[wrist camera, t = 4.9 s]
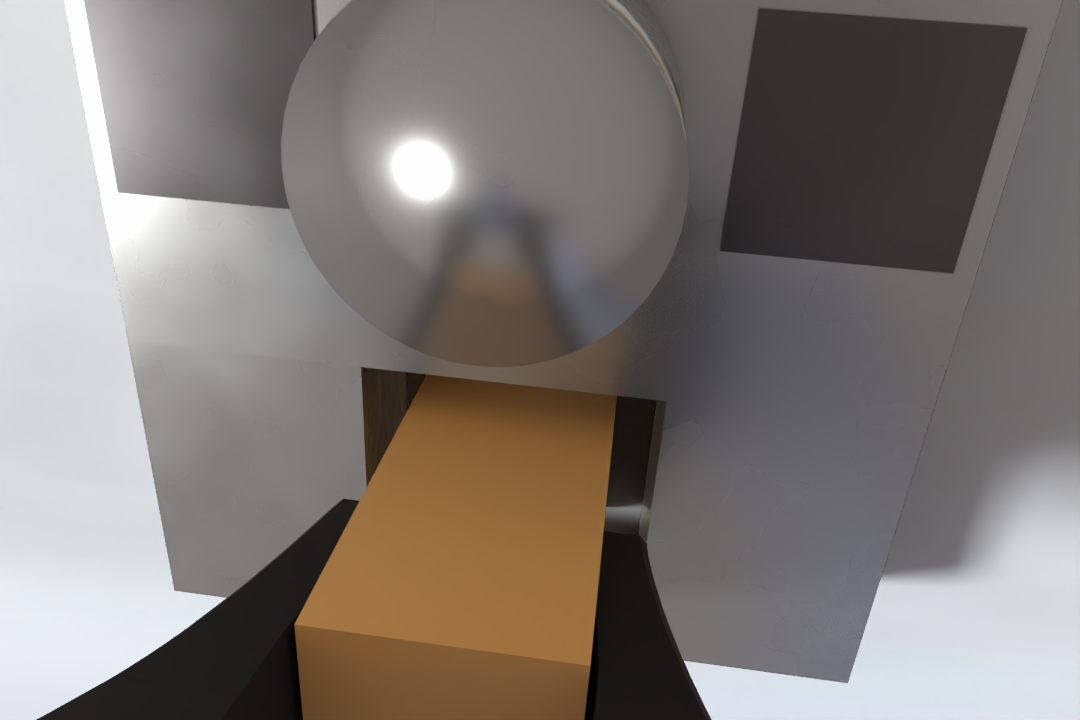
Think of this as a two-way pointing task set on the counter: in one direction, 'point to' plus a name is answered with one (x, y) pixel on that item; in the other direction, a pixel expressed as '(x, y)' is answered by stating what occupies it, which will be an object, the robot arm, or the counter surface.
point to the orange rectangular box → (467, 563)
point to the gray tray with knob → (560, 260)
